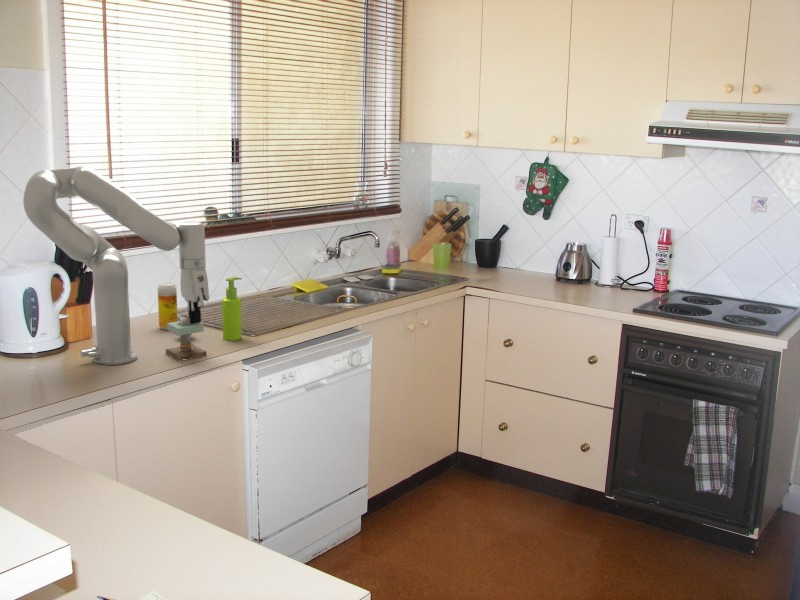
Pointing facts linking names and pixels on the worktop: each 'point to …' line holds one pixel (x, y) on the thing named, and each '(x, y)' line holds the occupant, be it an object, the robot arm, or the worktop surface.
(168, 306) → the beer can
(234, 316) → the soap dispenser
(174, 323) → the collar
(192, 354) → the post stand
